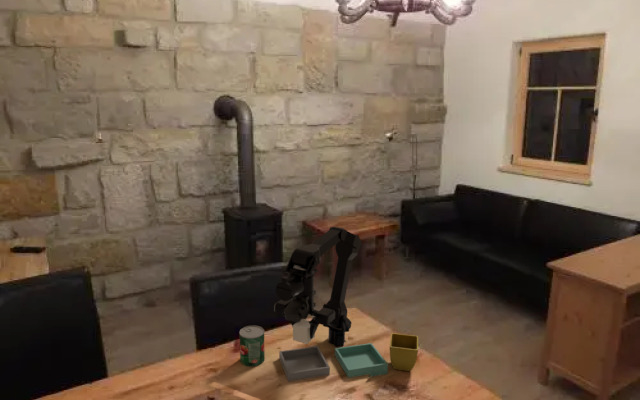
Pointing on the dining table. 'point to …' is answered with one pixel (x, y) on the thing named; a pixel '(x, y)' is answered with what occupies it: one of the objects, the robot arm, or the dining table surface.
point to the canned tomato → (252, 346)
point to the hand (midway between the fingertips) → (304, 336)
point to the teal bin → (361, 360)
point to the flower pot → (403, 351)
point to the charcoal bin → (303, 363)
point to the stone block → (302, 331)
